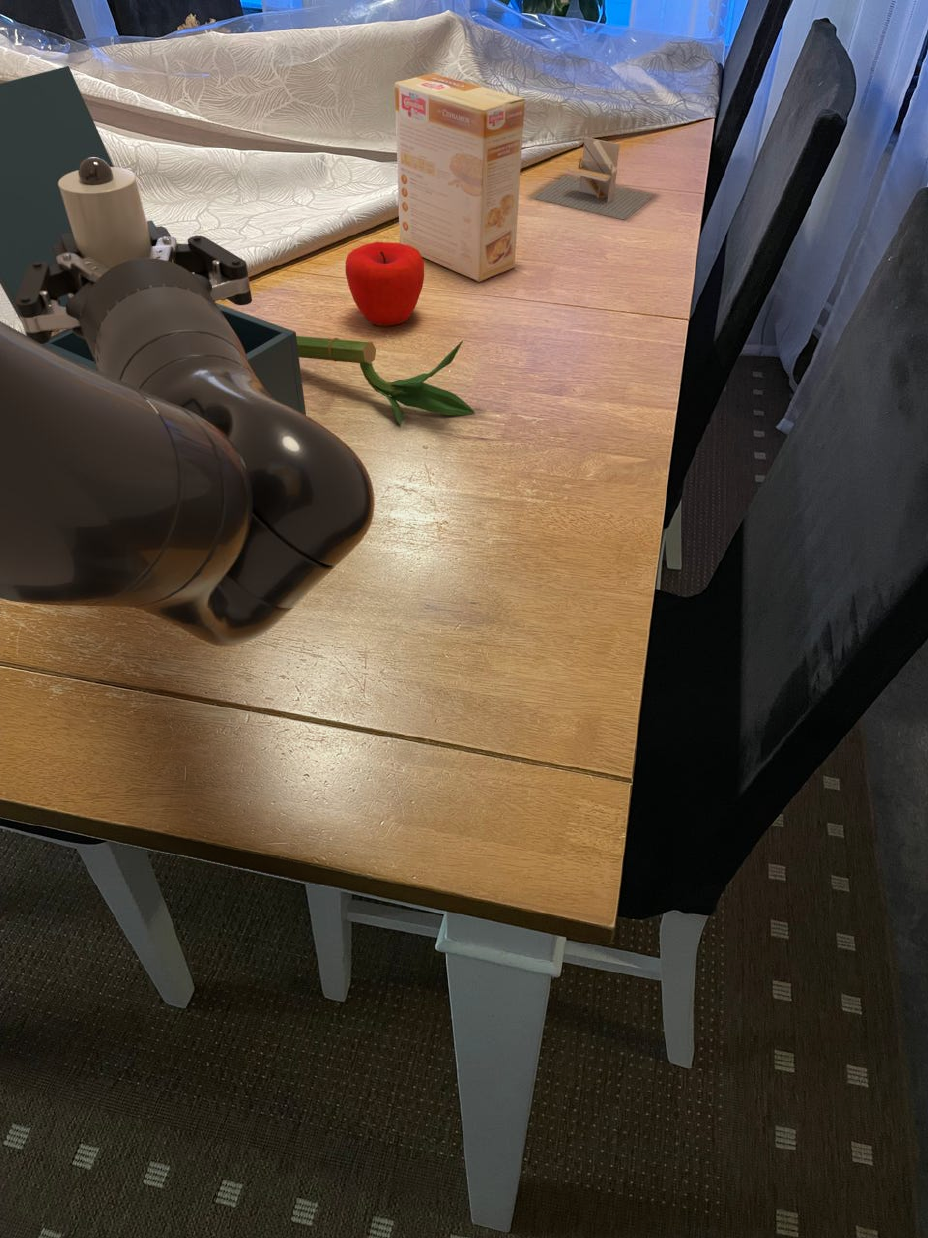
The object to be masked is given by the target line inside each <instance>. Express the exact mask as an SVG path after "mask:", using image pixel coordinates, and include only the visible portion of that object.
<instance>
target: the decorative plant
mask: <svg viewBox="0 0 928 1238" xmlns="http://www.w3.org/2000/svg"><path fill="white" fill-rule="evenodd" d="M296 339H297V347H298V354H299V358H302V359H312V360H323V361H332V362H335V363H336V362H341V363H354V364H359V367H360V369H361V372H362V374H363V376H364V378H365V380H366V381H367V383H368V384H369V385H370V386H371V387H372V388H373V389H374V391H375V392H377V393H378V394H380V395H382V396H384V397H385V398H386V399H387V400H388V401H389V404H390V405H391V407H392V410H393V413H394V416H395V418H396V420H397V423H398V424H399V427H401V426H402V418H403V410H402V407H401V405H400V404H402V405H403V406H405V407H410V408H416V409H419V410H422V411H426V412H428V413H433V414H439V415H445V416H465V415H470V414H475V410H473V409H472V407H471V406H470V405H469V404H467V402H466V401H464V400H463V399H461V397H459V396H458V395H456V394H455V393H453V392H452V391H449V390H446V389H444V388H440V387H437V386H434V385H432V384H429V383H426V382H425V381H428V379H429V378H432V377H433V376H434V375H435V374H437V373H438V372H439V371H441V370H442V369H444V368H445V367H447V366H449V365H450V364H451V363H452V362H453V360H454V359H455V357H456V356H457V353H458V351H459V349H460V347H461V346H462V344H463V343H464V340H461V341H460V342H459V343H458V344H457V345H456V346H455V347H454V348H453V349H452V350H451V351H450V352H449V353H448V354H447V355H446V356H445V357H444V358H443V359H442V360H441V362H439V364H437V366H436V367H435V368H434V369H433V370H431V371H430V372H429V373H420V374H418V375H415V376H413V377H410V378H406V379H397V380H395V381H387V380H385V379H383V378H382V377H380V376H379V374H378V373H377V371H376V370H375V368H374V366H373V362H374V361H375V360H376V355H377V354H376V353H377V349H376V346H375V344H374V342H373V341H364V340H351V339H350V340H349V339H340V338H339V337H333V338H329V337H328V338H325V337H314V336H304V335H296ZM399 403H400V404H399Z"/></svg>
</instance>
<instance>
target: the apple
mask: <svg viewBox="0 0 928 1238" xmlns="http://www.w3.org/2000/svg"><path fill="white" fill-rule="evenodd" d="M344 271H345V277H346V281H347V286H348V289H349V292H350V295H351V297H352V300H353V302H354V303H355V305H356V308H357V309H358V310H359V312H360V313H361V314H362V316H363V317H364V318H365V319H366V320H367V321H369V322H370V323H372V324H373V325H377V326H386V327H388V326H396V325H398V324H402V323H403V322H406V321H408V320H409V318H410V316H411V315H412V314H413V311H414V310H415V309H416V307H417V303H418V301H419V298H420V295H421V292H422V289H423V287H424V280H425V261H424V259H423V257H422V256H421V255H420V253H419V251H418V250H417V249H415V248H414V247H412V246H409V245H405V244H400V242H391V241H389V242H387V241H374V242H370V243H366V244H362V245H360V246H359V247H356V248H354V249H352V250H351V251H349V253H348V254H347V256H346V259H345V269H344Z"/></svg>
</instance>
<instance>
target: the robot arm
mask: <svg viewBox="0 0 928 1238" xmlns="http://www.w3.org/2000/svg"><path fill="white" fill-rule="evenodd" d="M146 221H147V225H148V229H149V233H150V238H151V242H152V247H151V250H150V254H149V258H141V259H134V260H129V261H126V262H123V263H121V264H118V265H116V266H114V267H109V268H108V267H107V266H105V265H103V264H102V263H100V262H98V261H97V260H95V259H94V258H92V257H87V258H84V259H83V258H81V256H80V253H79V250H78V248H77V247H76V244H75V242H74V239H73V237H72V235H71V233H66V234H60V238H61V241H62V242H58V243H54V244H53V246H52V248H53V252H54V255H55V258H56V261H57V263H56V264H55V265H53V266H50V267H49V265H48V263H46V262H34V263H31V264H29V265H28V266H27V269H26V271H25V274H24V277H23V280H22V283H21V285H20V288H19V291H18V294H17V296H16V299H15V305H16V308H17V310H18V313H19V316H20V319H21V321H20V322H21V325H22V327H23V331H24V333H25V334H24V333H22V332H21V331H19V330H17V329H15V328H13V327H12V326H10V325H8V324H7V323H5V322H3V321H1V320H0V599H1V600H5V601H9V602H14V603H23V604H30V605H31V604H32V605H41V606H42V605H43V606H61V607H63V606H64V607H112V608H113V607H117V608H118V607H119V608H120V607H121V608H123V607H124V608H125V607H128V608H135V609H138V610H141V611H142V612H145V613H147V614H150V615H152V616H154V617H156V618H159V619H161V620H163V621H165V622H168V623H170V624H172V625H174V626H176V627H178V628H179V629H182V630H183V631H185V632H187V633H188V634H189V635H191V636H193V637H195V638H196V639H199V640H200V641H203V642H205V643H208V644H210V645H213V646H216V647H217V646H218V647H225V648H226V647H235V646H237V645H242V644H245V643H247V642H251V641H253V640H255V639H257V638H259V637H261V636H263V635H265V634H266V633H267V632H268V631H270V630H271V629H273V628H274V627H275V626H276V625H278V623H280V622H281V620H283V619H284V617H286V616H287V615H288V614H289V613H290V612H291V611H292V610H293V609H294V608H295V607H296V606H297V605H298V604H299V603H300V602H301V601H302V600H303V599H304V598H305V597H306V596H307V595H308V594H310V593H311V591H312V590H313V589H314V588H315V587H316V586H317V585H319V583H320V582H321V581H322V580H323V579H325V578H326V577H327V576H328V575H329V574H330V573H331V572H332V570H334V569H335V568H336V566H338V565H339V564H340V563H341V562H342V561H343V560H344V559H345V558H346V557H347V556H348V555H349V554H351V552H353V551H354V550H355V548H356V547H357V546H358V545H359V544H360V543H361V542H362V541H363V539H364V538H365V536H366V535H367V534H368V532H369V530H370V528H371V526H372V524H373V519H374V515H375V506H376V501H375V498H376V497H375V490H374V485H373V480H372V478H371V476H370V474H369V472H368V469H367V467H366V466H365V464H364V463H363V461H362V460H361V458H360V457H359V456H358V455H357V454H356V453H355V451H354V450H353V449H352V448H351V447H350V446H349V445H348V443H346V442H345V441H343V439H341V438H340V437H339V436H337V435H336V434H335V433H334V432H332V431H330V430H329V429H328V428H326V427H325V426H324V425H322V424H320V423H319V422H318V421H316V420H314V419H313V418H311V417H310V416H307V414H306V415H304V414H302V413H300V412H298V411H296V410H294V409H292V408H290V407H288V406H286V405H284V404H282V403H280V402H278V401H277V400H275V399H274V398H273V397H272V396H271V395H270V394H269V393H268V392H267V391H266V389H265V388H264V386H263V385H262V383H261V382H260V380H259V379H258V377H257V375H256V374H255V372H254V371H253V369H252V368H251V366H250V364H249V363H248V359H247V357H246V354H245V351H244V348H243V346H242V344H241V343H240V341H239V339H238V337H237V335H236V334H235V332H234V331H233V329H232V328H231V326H230V325H229V323H228V321H227V320H226V318H225V317H224V315H223V314H222V312H221V311H220V309H219V307H218V306H217V304H216V303H217V302H218V301H226V300H228V301H229V302H231V303H232V304H234V305H236V306H246V305H249V304H251V303H252V302H253V297H252V291H251V285H250V278H249V272H248V266H247V261H246V260H244V259H243V258H241V257H239V256H238V255H236V254H234V253H232V252H231V251H229V250H227V249H226V248H224V247H223V246H221V245H219V244H217V243H216V242H214V241H213V240H211V239H209V238H207V237H206V236H204V235H194V236H193V235H192V236H190V237H188V238H187V243H179V242H178V240H177V238H176V237H174V236H172V235H171V234H170V232H169V231H168V229H167V228H166V227H164V226H162V225H160V226H156V225H155V223H154V221H153V220H151V219H150V220H146ZM67 294H68V296H69V297H70V299H69V300H68V302H67V304H66V307H61V306H60V299H59V297H61V296H64V295H67ZM20 319H19V320H20ZM66 329H72V331H73V332H74V333H75V334H76V335H77V336H78V337H80V338H83V339H85V340H86V341H87V344H88V346H89V349H90V351H91V354H92V356H93V359H94V361H95V364H96V367H97V369H98V371H97V370H95V369H92V368H90V367H87V366H85V365H83V364H80V363H78V362H76V361H73V360H71V359H69V358H67V357H65V356H63V355H61V354H59V353H57V352H55V351H53V350H51V349H49V348H47V347H45V346H43V345H42V344H44V343H46V342H48V341H49V340H50V338H51V337H52V336H53V335H52V334H53V333H56V334H57V333H60V332H61V331H64V330H66Z"/></svg>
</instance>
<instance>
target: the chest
mask: <svg viewBox="0 0 928 1238" xmlns="http://www.w3.org/2000/svg"><path fill="white" fill-rule="evenodd" d="M215 303H216V304H217V306H218V307H219V309H220V311H221V312H222V314H223V315H224V317H225V318H226V320H227V321H228V323H229V325H230V326H231V328H232V329H233V331H234V332H235V334H236V335H237V337H238V339H239V341H240V343H241V344H242V346H243V348H244V351H245V354H246V357H247V359H248V363H249V364H250V366H251V368H252V369H253V371H254V372H255V374H256V375H257V377H258V379H259V380H260V382H261V383H262V385H263V386H264V388H265V389H266V391H267V392H268V393H269V394H270V395H271V396H272V397H273V398H274V399H275V400H277V401H278V402H280V403H282V404H284V405H286V406H288V407H290V408H292V409H294V410H296V411H298V412H300V413H302V414H304V415H306V416H307V412H306V403H305V396H304V395H305V394H304V387H303V379H302V372H301V363H300V362H301V361H300V357H299V354H298V347H297V339H296V336H297V332H296V331H295V330H292V329H289V328H286V327H284V326H281V325H278V324H275V323H273V322H270V321H267V320H265V319H263V318H258V317H257V316H253V315H250V314H248V313H245V312H242V311H239V310H237V309H233V308H231V307H228V306H226V305H222V304H221V303H217V302H215ZM42 345H43V346H45V347H47V348H49V349H51V350H53V351H55V352H57V353H59V354H61V355H63V356H65V357H67V358H69V359H71V360H73V361H76V362H78V363H80V364H83V365H85V366H87V367H90V368H92V369H95V370H97V371H98V369H97V367H96V364H95V361H94V359H93V356H92V354H91V351H90V349H89V346H88V344H87V341H86V340H85V339H83V338H80V337H78V336H77V335H76V334H75V333H74V332H73V331H72V329H63V330H61V331H59V332H57V333H56V334H54V335H51V338H50V340H49V341H48V342H46V343H44V344H42Z"/></svg>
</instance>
